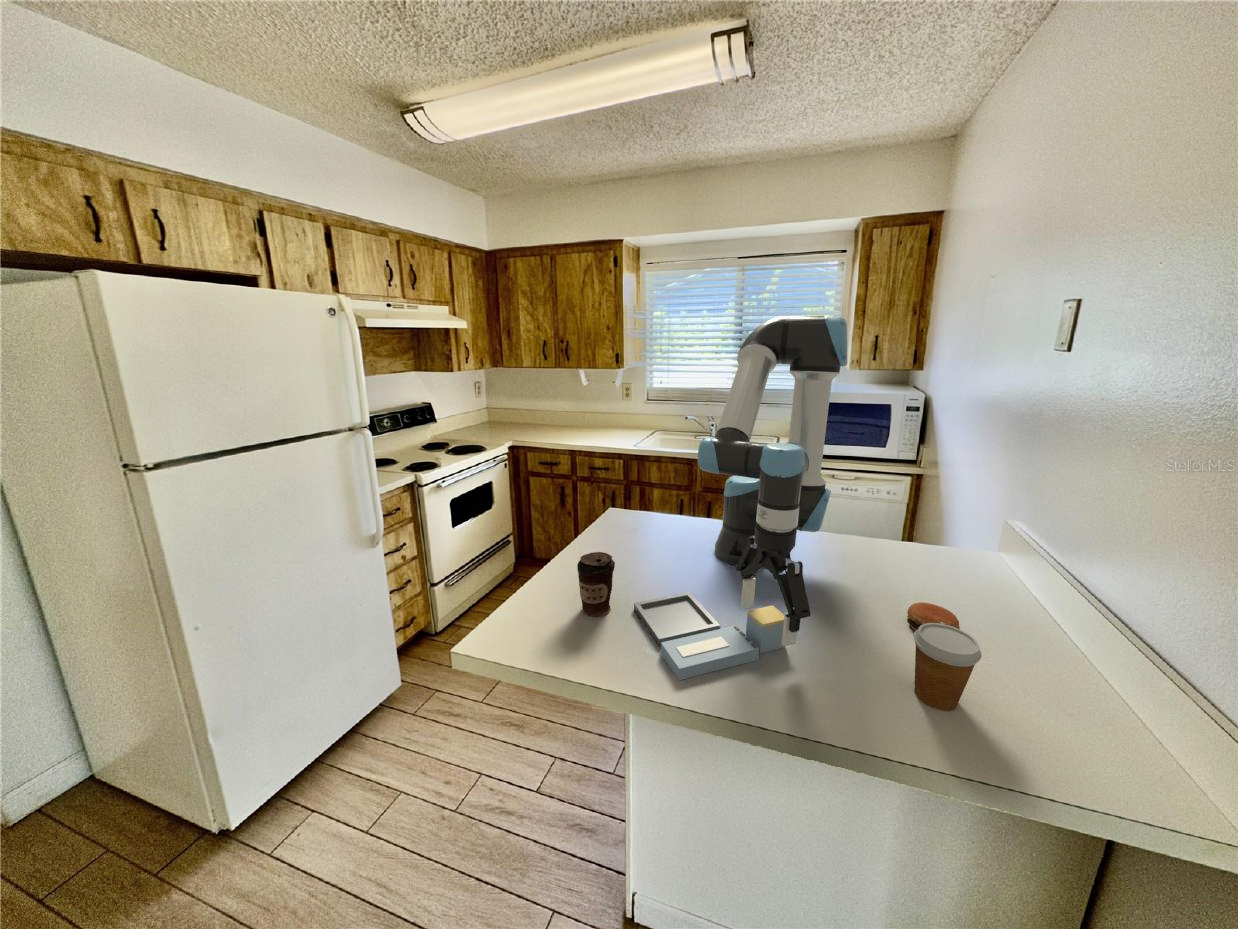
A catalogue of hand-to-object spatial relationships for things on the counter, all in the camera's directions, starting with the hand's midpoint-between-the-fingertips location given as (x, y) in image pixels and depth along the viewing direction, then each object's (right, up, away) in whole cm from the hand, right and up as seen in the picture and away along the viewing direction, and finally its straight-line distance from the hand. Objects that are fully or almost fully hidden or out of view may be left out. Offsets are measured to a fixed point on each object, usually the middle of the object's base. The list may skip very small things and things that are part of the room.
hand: (766, 624), depth 97 cm
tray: (-17, -2, +9) cm, 20 cm away
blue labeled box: (-12, -6, -3) cm, 13 cm away
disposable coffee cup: (+25, -9, -13) cm, 30 cm away
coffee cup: (-35, -1, +13) cm, 37 cm away
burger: (+37, -3, +6) cm, 38 cm away
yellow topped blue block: (0, -4, +2) cm, 5 cm away
